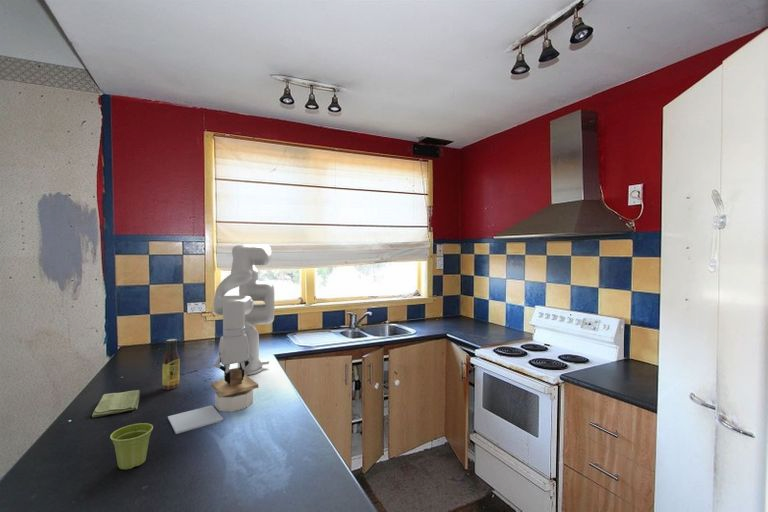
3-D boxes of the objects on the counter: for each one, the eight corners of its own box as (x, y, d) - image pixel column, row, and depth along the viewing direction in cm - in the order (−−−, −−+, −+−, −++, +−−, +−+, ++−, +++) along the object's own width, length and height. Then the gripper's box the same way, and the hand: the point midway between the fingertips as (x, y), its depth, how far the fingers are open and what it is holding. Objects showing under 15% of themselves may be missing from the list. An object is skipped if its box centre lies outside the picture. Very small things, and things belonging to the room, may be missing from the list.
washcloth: (90, 420, 122) (90, 411, 122) (101, 401, 137) (101, 393, 137) (137, 412, 128) (137, 403, 128) (142, 395, 144) (142, 386, 144)
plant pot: (124, 454, 101) (124, 423, 101) (160, 452, 102) (159, 422, 102) (101, 474, 92) (101, 441, 92) (140, 473, 92) (140, 439, 92)
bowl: (245, 395, 142) (245, 382, 142) (256, 405, 133) (256, 391, 133) (212, 403, 135) (212, 390, 135) (222, 414, 126) (221, 400, 125)
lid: (246, 377, 144) (246, 362, 143) (258, 387, 134) (258, 371, 133) (211, 385, 135) (210, 369, 135) (221, 396, 125) (221, 379, 125)
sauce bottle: (171, 391, 147) (171, 342, 146) (158, 389, 148) (158, 341, 148) (183, 385, 153) (183, 338, 153) (170, 384, 154) (170, 337, 154)
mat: (211, 406, 132) (211, 405, 132) (223, 420, 121) (223, 418, 121) (167, 418, 123) (167, 416, 123) (175, 434, 112) (175, 432, 112)
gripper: (253, 327, 142) (253, 373, 143) (207, 333, 131) (207, 383, 132) (260, 330, 136) (260, 378, 137) (212, 337, 126) (213, 389, 126)
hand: (234, 380), depth 134 cm, fingers closed on lid, 4 cm apart
